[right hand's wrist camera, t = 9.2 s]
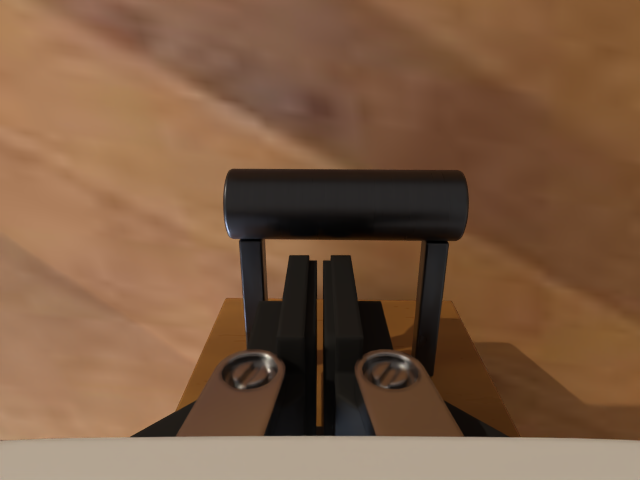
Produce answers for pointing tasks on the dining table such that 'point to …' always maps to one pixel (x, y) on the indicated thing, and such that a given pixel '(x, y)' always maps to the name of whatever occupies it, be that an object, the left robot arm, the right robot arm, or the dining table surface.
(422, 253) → the drawer
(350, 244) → the dining table surface
